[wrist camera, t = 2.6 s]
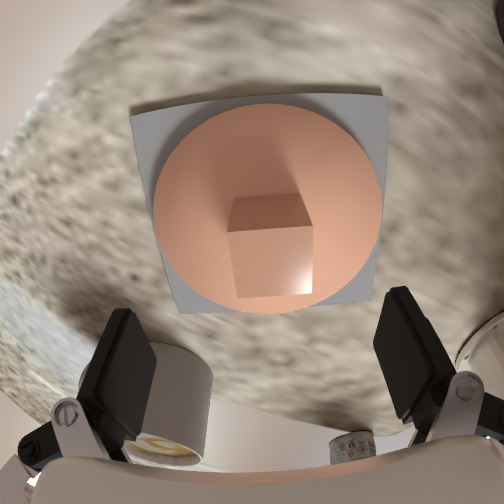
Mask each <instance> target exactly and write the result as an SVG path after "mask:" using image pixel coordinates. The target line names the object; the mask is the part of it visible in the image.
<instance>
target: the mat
mask: <svg viewBox="0 0 504 504" xmlns="http://www.w3.org/2000/svg"><path fill="white" fill-rule="evenodd" d="M261 103H277V104H284V105H291V106H295V107H299V108H302V109H306V110H309V111H312V112H314V113H316V114H319V115H321V116H323V117H325V118H327V119H329V120H330V121H332V122H333V123H335V124H336V125H338V126H339V127H341V128H342V129H343V130H344V131H346V132H347V133H348V134H349V135H350V136H351V137H352V138H353V139H354V140H355V141H356V142H357V143H358V145H359V146H360V147H361V148H362V149H363V151H364V152H365V154H366V156H367V157H368V159H369V160H370V162H371V164H372V166H373V169H374V171H375V173H376V176H377V179H378V183H379V187H380V191H381V199H382V215H383V206H384V195H385V182H386V165H387V137H388V105H387V96H378V95H364V94H344V93H292V94H271V95H257V96H246V97H236V98H227V99H219V100H211V101H205V102H198V103H192V104H186V105H180V106H175V107H170V108H165V109H160V110H155V111H151V112H146V113H142V114H138V115H134V116H130V120H131V126H132V132H133V137H134V143H135V148H136V153H137V158H138V163H139V168H140V173H141V177H142V182H143V186H144V190H145V195H146V199H147V203H148V207H149V211H150V215H151V219H152V223H153V227H154V231H155V226H154V217H153V203H154V194H155V189H156V185H157V181H158V178H159V176H160V173H161V171H162V169H163V166H164V164H165V163H166V161H167V159H168V158H169V156H170V154H171V153H172V151H173V150H174V149H175V148H176V147H177V145H178V144H179V143H180V142H181V141H182V140H183V139H184V138H185V137H186V136H187V135H188V134H189V133H190V132H191V131H192V130H194V129H195V128H196V127H198V126H199V125H201V124H202V123H204V122H205V121H207V120H208V119H210V118H212V117H214V116H216V115H218V114H221V113H223V112H225V111H228V110H231V109H234V108H237V107H241V106H246V105H252V104H261ZM381 224H382V219H381ZM380 233H381V225H380V230H379V234H378V237H377V240H376V243H375V246H374V248H373V250H372V252H371V254H370V256H369V258H368V259H367V261H366V262H365V264H364V265H363V267H362V268H361V269H360V271H359V272H358V273H357V274H356V275H355V277H354V278H353V279H352V280H350V281H349V282H348V283H347V284H346V285H345V286H344V287H343V288H341V289H340V290H339V291H337V292H336V293H335V294H333V295H331V296H330V297H328V298H326V299H325V300H323V301H320V302H318V303H316V304H314V305H311V306H308V307H313V306H324V305H335V304H344V303H354V302H362V301H369V300H370V295H371V290H372V285H373V279H374V273H375V267H376V261H377V254H378V248H379V240H380ZM155 235H156V231H155ZM156 238H157V236H156ZM157 242H158V239H157ZM158 246H159V249H160V253H161V256H162V260H163V263H164V267H165V270H166V273H167V277H168V280H169V283H170V286H171V290H172V293H173V296H174V299H175V302H176V305H177V308H178V311H179V314H191V313H221V312H242V311H238V310H234V309H231V308H227V307H224V306H222V305H220V304H217V303H215V302H213V301H211V300H209V299H207V298H205V297H204V296H202V295H200V294H199V293H198V292H196V291H195V290H193V289H192V288H191V287H190V286H189V285H187V284H186V283H185V282H184V281H183V280H182V279H181V278H180V277H179V276H178V274H177V273H176V272H175V271H174V270H173V268H172V267H171V265H170V264H169V262H168V261H167V259H166V257H165V255H164V253H163V251H162V249H161V247H160V244H159V242H158Z"/></svg>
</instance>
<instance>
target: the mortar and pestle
mask: <svg viewBox="0 0 504 504" xmlns="http://www.w3.org/2000/svg"><path fill="white" fill-rule="evenodd" d="M498 23H499V29H500V33H501V36H502V38H503V40H504V0H499V2H498Z"/></svg>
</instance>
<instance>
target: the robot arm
mask: <svg viewBox="0 0 504 504" xmlns="http://www.w3.org/2000/svg"><path fill="white" fill-rule="evenodd" d="M373 346H374V350H375V352H376V355H377V358H378V361H379V363H380V366H381V369H382V372H383V375H384V378H385V381H386V384H387V387H388V390H389V393H390V396H391V399H392V402H393V405H394V408H395V411H396V415H397V417H398V418H399V419H402V421H403V425H404V424H408V423H411V422H414V425H415V428H416V430H415V432H414V434H413V437H412V439H411V441H410V443H409V445H408V447H407V448H404V449H401V450H397V451H393V452H390V453H386V454H382V455H377V456H373V457H369V458H365V459H360V460H356V461H351V462H346V463H340V464H335V465H329V466H322V467H316V468H308V469H298V470H289V471H277V472H258V473H257V472H256V473H218V472H197V471H184V470H174V469H165V468H158V467H151V466H144V465H137V464H133V463H132V461H131V459H130V458H129V456H128V454H127V452H126V451H125V449H124V447H123V445H124V440H128V441H134V442H136V437H137V436H139V435H140V433H141V430H142V425H143V420H144V416H145V411H146V407H147V402H148V398H149V394H150V389H151V385H152V381H153V377H154V373H155V369H156V365H157V358H156V355H155V353H154V351H153V349H152V347H151V345H150V343H149V341H148V339H147V337H146V335H145V333H144V331H143V329H142V327H141V325H140V322H139V320H138V318H137V316H136V314H135V313H134V312H132V311H131V310H130V309H129V308H116V309H114V311H113V313H112V315H111V317H110V319H109V321H108V323H107V325H106V328H105V330H104V332H103V334H102V336H101V339H100V341H99V343H98V346H97V348H96V350H95V352H94V355H93V357H92V360H91V362H90V364H89V367H88V369H87V372H86V374H85V377H84V379H83V382H82V384H81V387H80V390H79V392H78V395H77V398H76V399H74V398H71V397H68V398H63V399H61V400H59V401H58V402H57V403H56V404H55V405H54V407H53V409H52V411H51V421H49V422H47V423H46V424H44V425H42V426H41V427H39V428H37V429H36V430H34V431H32V432H31V433H29V434H27V435H26V436H24V437H23V438H22V439H21V441H20V442H19V445H18V455H16V454H14V455H13V456H12V457H11V458H10V460H9V461H8V462H7V463H6V464H5V465H4V466H3V468H2V469H1V470H0V503H1V504H504V312H502V313H500V314H498V315H497V316H495V317H494V318H492V319H491V320H490V321H489V322H487V323H486V324H485V325H484V326H483V327H481V328H480V329H479V330H478V331H477V332H476V333H475V334H474V335H473V336H472V338H471V339H470V340H469V341H468V342H467V343H466V345H465V346H464V347H463V349H462V350H461V352H460V354H459V356H458V358H457V360H456V365H455V366H456V370H457V372H458V373H457V372H456V370H455V368H454V366H453V364H452V362H451V360H450V358H449V356H448V354H447V352H446V350H445V348H444V347H443V345H442V343H441V341H440V339H439V337H438V335H437V334H436V332H435V330H434V328H433V327H432V325H431V323H430V321H429V320H428V319H427V318H426V317H425V316H424V314H423V313H422V311H421V309H420V307H419V306H418V304H417V302H416V301H415V299H414V297H413V296H412V294H411V293H410V291H409V289H408V288H407V287H406V286H400V287H393V288H391V289H390V291H389V292H387V293H386V295H385V299H384V303H383V307H382V311H381V315H380V319H379V322H378V326H377V329H376V333H375V336H374V340H373Z"/></svg>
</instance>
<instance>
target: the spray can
mask: <svg viewBox="0 0 504 504" xmlns="http://www.w3.org/2000/svg"><path fill="white" fill-rule="evenodd" d="M373 436H374V434H373V433H372V432H370V431H368V432H367V431H360V432H351V433H348V434H345V435H341V436H339V437H336V438H335V439H333V440H332V441H331V442H330V443H329V448H330V459H331V465H335V464H340V463H346V462H351V461H356V460H360V459H365V458H369V457H373V456H376V447H375V442H374V439H373Z"/></svg>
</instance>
